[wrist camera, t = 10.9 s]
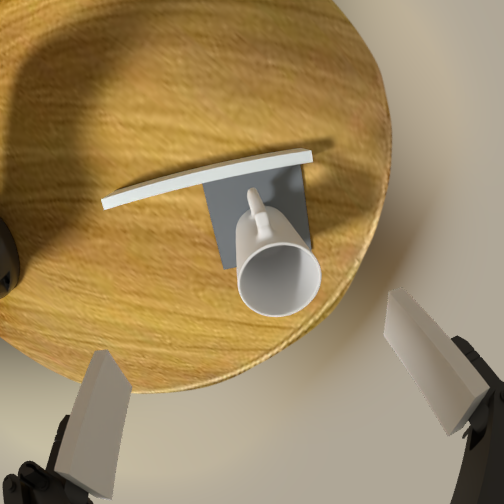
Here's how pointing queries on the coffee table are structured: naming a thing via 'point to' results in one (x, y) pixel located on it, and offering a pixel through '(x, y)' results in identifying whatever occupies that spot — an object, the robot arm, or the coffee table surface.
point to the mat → (236, 204)
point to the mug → (273, 262)
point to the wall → (207, 175)
